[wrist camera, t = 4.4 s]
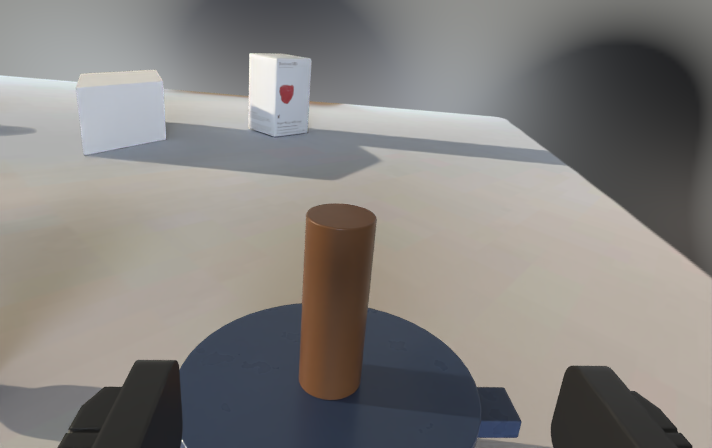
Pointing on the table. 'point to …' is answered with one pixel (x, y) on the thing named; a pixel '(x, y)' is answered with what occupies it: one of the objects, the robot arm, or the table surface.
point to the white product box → (279, 94)
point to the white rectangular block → (120, 109)
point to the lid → (328, 364)
